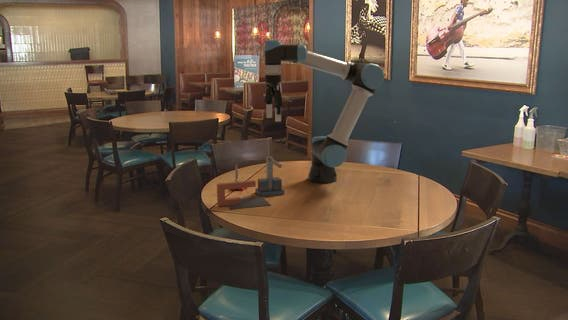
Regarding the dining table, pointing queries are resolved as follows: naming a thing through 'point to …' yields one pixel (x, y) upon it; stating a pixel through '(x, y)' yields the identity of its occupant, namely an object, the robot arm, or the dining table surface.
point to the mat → (250, 203)
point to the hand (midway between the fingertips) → (273, 119)
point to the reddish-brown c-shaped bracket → (231, 185)
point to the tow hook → (237, 179)
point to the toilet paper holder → (270, 181)
